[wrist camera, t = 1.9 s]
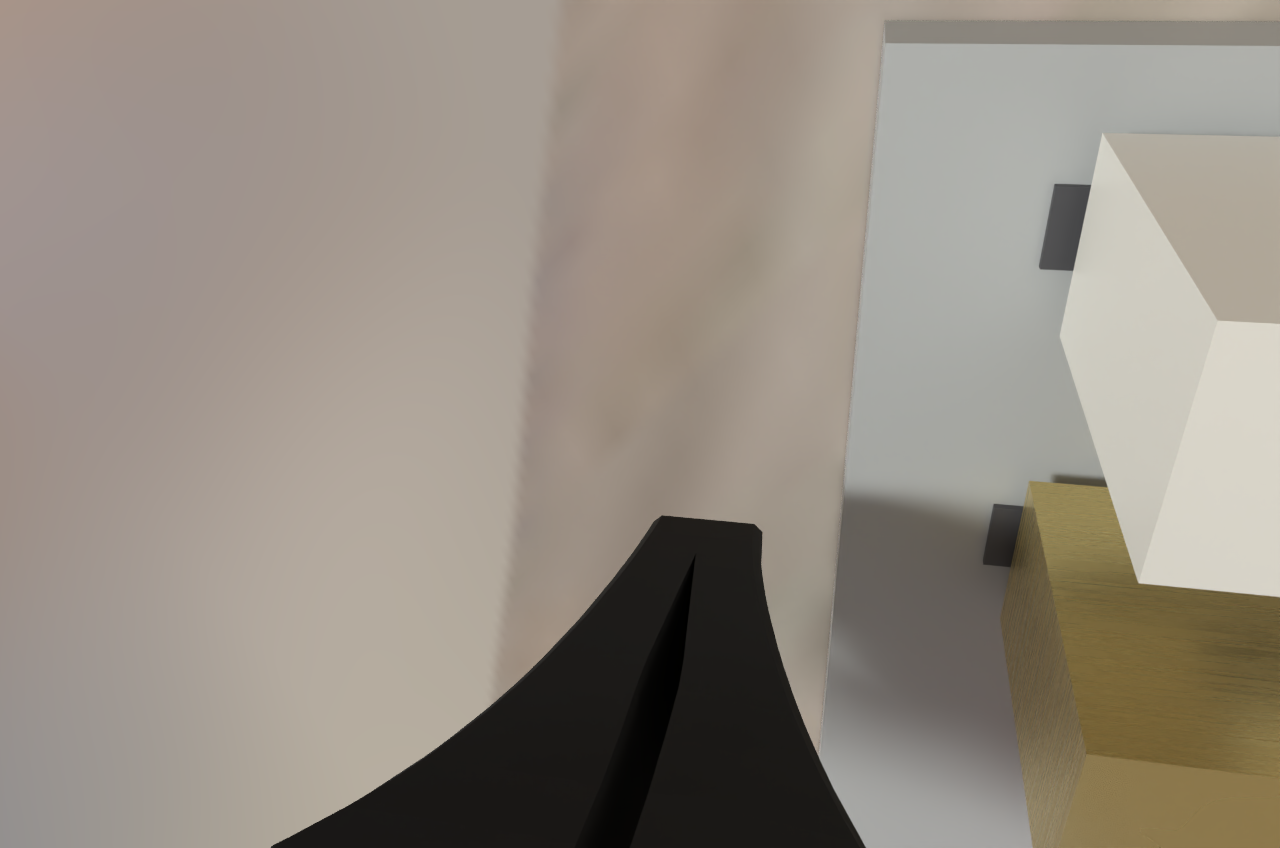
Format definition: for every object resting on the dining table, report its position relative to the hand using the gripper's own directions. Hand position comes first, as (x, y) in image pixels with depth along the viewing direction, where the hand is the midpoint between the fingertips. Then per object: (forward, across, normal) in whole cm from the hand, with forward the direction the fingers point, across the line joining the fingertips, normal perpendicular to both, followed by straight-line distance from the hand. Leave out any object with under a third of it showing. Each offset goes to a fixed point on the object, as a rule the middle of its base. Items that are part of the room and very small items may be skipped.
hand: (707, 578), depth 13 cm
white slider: (+1, -5, -5) cm, 7 cm away
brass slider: (+1, -5, 0) cm, 5 cm away
